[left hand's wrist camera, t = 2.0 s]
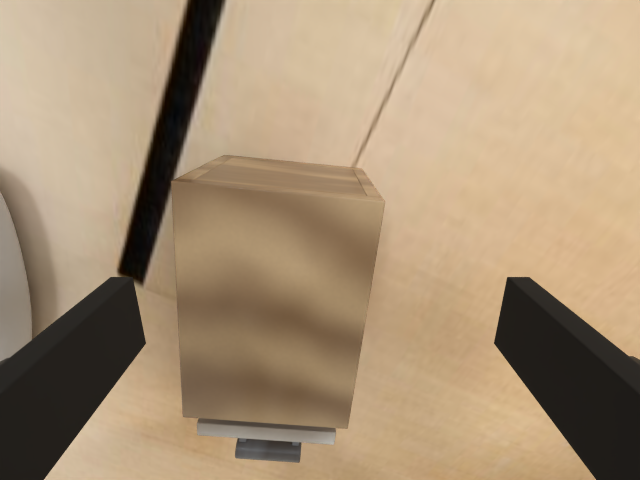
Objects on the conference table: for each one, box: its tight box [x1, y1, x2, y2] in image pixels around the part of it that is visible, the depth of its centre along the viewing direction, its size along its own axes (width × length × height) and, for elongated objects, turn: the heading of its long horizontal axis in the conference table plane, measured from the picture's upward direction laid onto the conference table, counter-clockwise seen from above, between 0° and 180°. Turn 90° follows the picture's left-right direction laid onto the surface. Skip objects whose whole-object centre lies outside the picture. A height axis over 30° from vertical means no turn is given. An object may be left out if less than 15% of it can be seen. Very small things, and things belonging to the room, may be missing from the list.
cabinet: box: [171, 155, 385, 429], centre depth 26 cm, size 16×11×11 cm
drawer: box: [197, 418, 336, 463], centre depth 29 cm, size 21×10×9 cm, turn 175°
